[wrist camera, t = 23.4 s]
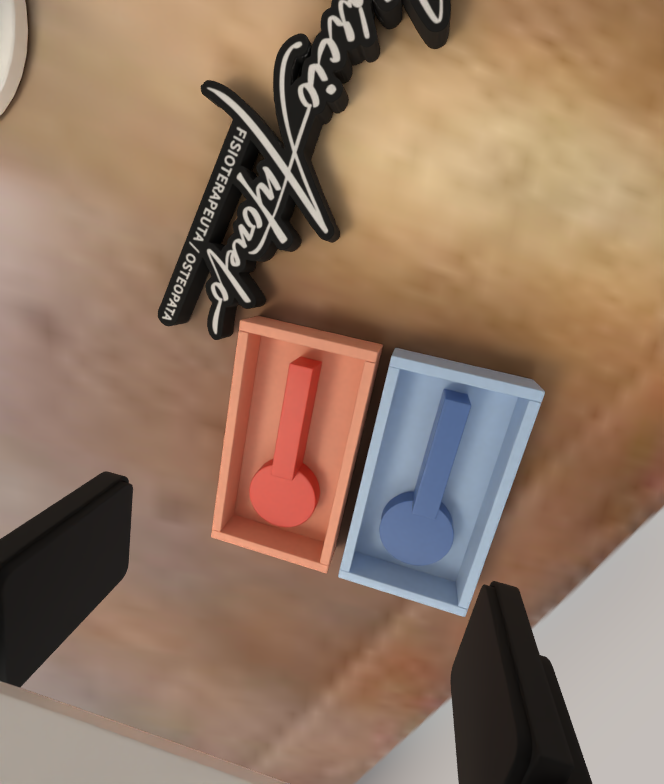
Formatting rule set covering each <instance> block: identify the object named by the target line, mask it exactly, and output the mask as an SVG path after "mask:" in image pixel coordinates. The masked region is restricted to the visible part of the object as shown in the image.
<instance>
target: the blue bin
mask: <svg viewBox="0 0 664 784" xmlns="http://www.w3.org/2000/svg"><path fill="white" fill-rule="evenodd" d="M443 389H448V390H452V391H456V392H460V393H464V394H467V395H468V396H469V399H470V402H471V409H470V413H469V416H468V419H467V422H466V425H465V429H464V432H463V435H462V438H461V441H460V444H459V448H458V451H457V454H456V457H455V460H454V464H453V467H452V470H451V473H450V476H449V480H448V483H447V486H446V489H445V492H444V495H443V499H442V503H443V504H444V505H445V506H446V507H447V509H448V510H449V512H450V514H451V517H452V521H453V530H454V541H453V545H452V547H451V549H450V551H449V552H448V553H447V555H446V556H445V557H443V558H442V559H441V560H439V561H438V562H436V563H433V564H430V565H425V566H415V565H409V564H406V563H403V562H401V561H399V560H397V559H396V558H394V557H393V556H392V555H390V553H389V552H388V551H387V550H386V549H385V547H384V546H383V544H382V542H381V539H380V534H379V526H380V521H381V516H382V512H383V509H384V508H385V506H386V504H387V503H388V502H389V501H390V500H391V499H392V498H394V497H396V496H397V495H399V494H402V493H406V492H414V489H415V485H416V482H417V479H418V475H419V472H420V468H421V465H422V461H423V458H424V454H425V451H426V448H427V444H428V441H429V437H430V434H431V430H432V427H433V423H434V420H435V417H436V413H437V410H438V406H439V403H440V399H441V396H442V392H443ZM544 394H545V391H544V390H543V389H542V388H541V387H540V386H539V385H538V384H537V383H536V382H535V381H534V380H533V379H529V378H524V377H520V376H516V375H511V374H507V373H503V372H499V371H494V370H490V369H486V368H481V367H477V366H473V365H468V364H464V363H460V362H456V361H451V360H447V359H443V358H438V357H434V356H430V355H425V354H421V353H417V352H412V351H408V350H404V349H400V348H395V349H394V351H393V354H392V356H391V360H390V364H389V368H388V372H387V376H386V380H385V384H384V389H383V393H382V397H381V401H380V405H379V409H378V413H377V417H376V422H375V426H374V430H373V434H372V438H371V442H370V446H369V451H368V455H367V459H366V463H365V467H364V471H363V475H362V480H361V484H360V488H359V492H358V496H357V500H356V504H355V509H354V513H353V517H352V521H351V525H350V529H349V533H348V538H347V542H346V546H345V550H344V554H343V558H342V562H341V566H340V571H339V575H338V577H339V578H343V579H346V580H349V581H352V582H355V583H358V584H362V585H365V586H368V587H371V588H374V589H377V590H381V591H384V592H387V593H390V594H393V595H396V596H400V597H403V598H406V599H409V600H412V601H415V602H419V603H422V604H425V605H428V606H431V607H434V608H438V609H441V610H444V611H447V612H450V613H453V614H457V615H460V616H463V617H465V616H466V613H467V610H468V607H469V605H470V602H471V599H472V596H473V593H474V591H475V588H476V585H477V582H478V579H479V577H480V574H481V571H482V568H483V565H484V562H485V560H486V557H487V554H488V551H489V548H490V546H491V543H492V540H493V537H494V534H495V532H496V529H497V526H498V523H499V520H500V518H501V515H502V512H503V509H504V506H505V504H506V501H507V498H508V495H509V492H510V490H511V487H512V484H513V481H514V478H515V476H516V473H517V470H518V467H519V464H520V461H521V459H522V456H523V453H524V450H525V447H526V445H527V442H528V439H529V436H530V433H531V431H532V428H533V425H534V422H535V419H536V417H537V414H538V411H539V408H540V405H541V402H542V400H543V397H544Z"/></svg>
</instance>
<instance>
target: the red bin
mask: <svg viewBox="0 0 664 784" xmlns="http://www.w3.org/2000/svg"><path fill="white" fill-rule="evenodd" d="M239 330H240V331H239V333H238V340H237V348H236V355H235V363H234V370H233V378H232V385H231V392H230V400H229V407H228V415H227V422H226V430H225V437H224V445H223V452H222V459H221V467H220V474H219V482H218V489H217V497H216V504H215V512H214V519H213V526H212V534H211V537H213V538H216V539H219V540H222V541H225V542H228V543H232V544H235V545H238V546H241V547H244V548H247V549H251V550H254V551H257V552H260V553H263V554H266V555H270V556H273V557H276V558H279V559H282V560H285V561H289V562H292V563H295V564H298V565H301V566H304V567H308V568H311V569H314V570H317V571H320V572H324V573H327V572H328V569H329V566H330V563H331V560H332V557H333V554H334V551H335V548H336V544H337V540H338V536H339V531H340V527H341V523H342V518H343V514H344V510H345V506H346V501H347V497H348V493H349V489H350V484H351V480H352V476H353V471H354V467H355V463H356V459H357V454H358V450H359V446H360V442H361V437H362V433H363V429H364V425H365V420H366V416H367V412H368V407H369V403H370V399H371V395H372V390H373V386H374V382H375V378H376V373H377V369H378V365H379V360H380V356H381V352H382V348H383V345H382V344H378V343H374V342H369V341H365V340H361V339H356V338H352V337H348V336H344V335H339V334H335V333H331V332H326V331H322V330H318V329H313V328H309V327H305V326H300V325H296V324H292V323H288V322H283V321H279V320H275V319H270V318H266V317H262V316H255V317H251V318H247V319H243V320H240V325H239ZM300 356H302V357H306V358H310V359H314V360H318V361H322V366H321V371H320V377H319V382H318V387H317V392H316V397H315V403H314V408H313V413H312V418H311V423H310V429H309V434H308V439H307V444H306V449H305V455H304V460H303V463H304V464H305V465H306V466H308V467H309V468H310V469H311V470H312V472H313V473H314V474H315V476H316V478H317V480H318V483H319V487H320V497H319V501H318V504H317V506H316V508H315V510H314V512H313V514H312V515H311V517H310V518H309V519H308V520H307V521H306V522H304V523H303V524H301V525H298V526H295V527H289V528H285V527H279V526H275V525H272V524H270V523H268V522H267V521H265V520H264V519H263V518H262V517H261V516H260V515H259V514H258V513H257V512H256V511H255V509H254V507H253V505H252V503H251V500H250V495H249V488H250V483H251V480H252V478H253V476H254V475H255V474H256V472H257V471H258V470H259V469H260V468H261V467H262V466H263V465H264V464H265V463H266V462H268V461H269V460H271V459H273V458H274V452H275V446H276V440H277V434H278V428H279V422H280V416H281V410H282V405H283V399H284V393H285V387H286V381H287V375H288V369H289V364H290V363H291V362H292V361H294V360H295V359H297V358H299V357H300Z"/></svg>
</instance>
